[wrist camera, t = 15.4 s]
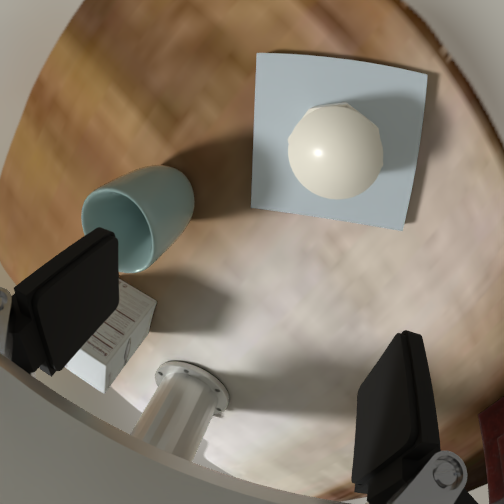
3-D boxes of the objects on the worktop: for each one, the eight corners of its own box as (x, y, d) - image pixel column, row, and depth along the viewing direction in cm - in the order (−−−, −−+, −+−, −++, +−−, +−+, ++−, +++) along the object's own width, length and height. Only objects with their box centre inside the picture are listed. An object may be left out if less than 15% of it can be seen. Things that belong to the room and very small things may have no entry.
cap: (326, 88, 23) (323, 87, 18) (390, 136, 23) (402, 147, 19) (283, 148, 26) (270, 162, 22) (344, 193, 27) (344, 217, 22)
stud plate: (400, 224, 28) (409, 252, 23) (255, 202, 31) (237, 224, 26) (423, 75, 21) (441, 72, 17) (261, 54, 24) (242, 47, 20)
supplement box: (150, 333, 45) (104, 396, 34) (109, 308, 45) (58, 363, 34) (159, 300, 41) (106, 367, 30) (113, 273, 41) (54, 330, 30)
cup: (200, 154, 30) (144, 184, 22) (210, 227, 34) (164, 279, 25) (135, 159, 32) (71, 189, 24) (147, 225, 36) (94, 270, 27)
